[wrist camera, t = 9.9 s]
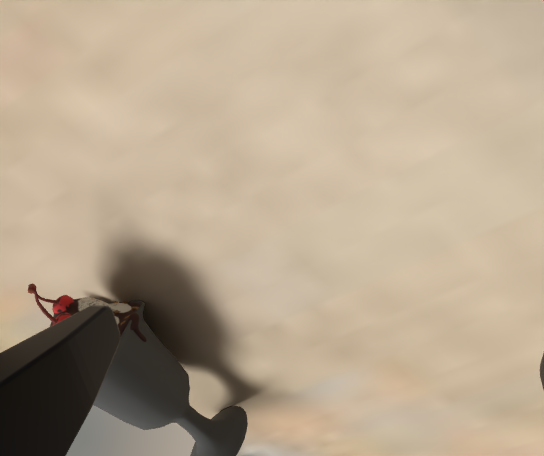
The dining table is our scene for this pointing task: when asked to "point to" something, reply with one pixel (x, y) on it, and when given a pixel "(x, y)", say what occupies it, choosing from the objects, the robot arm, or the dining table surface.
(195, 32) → the dining table surface
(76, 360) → the robot arm
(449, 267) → the dining table surface
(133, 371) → the sundae
